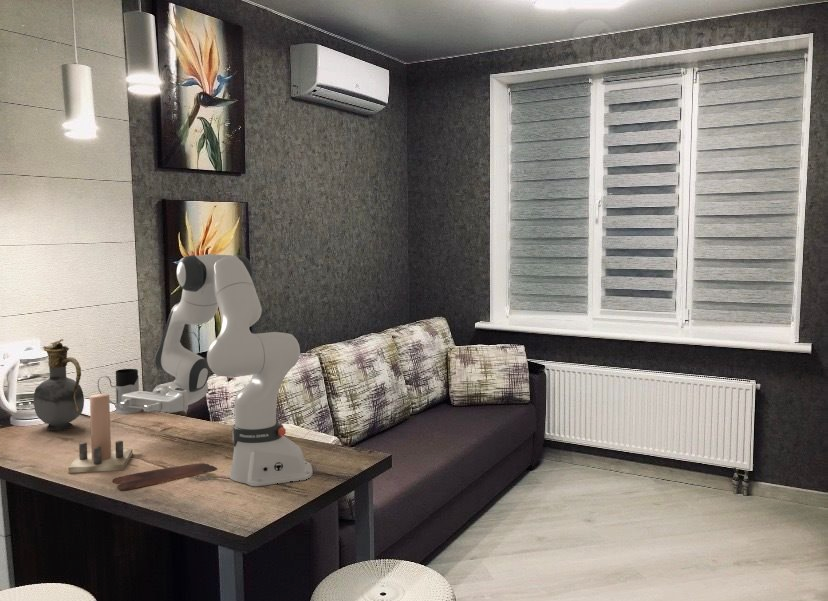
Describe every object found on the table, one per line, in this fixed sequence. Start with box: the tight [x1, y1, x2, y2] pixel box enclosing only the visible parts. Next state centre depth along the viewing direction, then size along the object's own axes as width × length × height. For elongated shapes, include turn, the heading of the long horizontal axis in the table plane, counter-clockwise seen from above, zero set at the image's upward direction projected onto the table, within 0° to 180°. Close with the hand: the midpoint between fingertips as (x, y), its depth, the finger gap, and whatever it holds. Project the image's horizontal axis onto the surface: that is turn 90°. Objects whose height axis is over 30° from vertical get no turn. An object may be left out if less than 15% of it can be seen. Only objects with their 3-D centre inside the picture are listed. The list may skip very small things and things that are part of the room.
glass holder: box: [96, 368, 142, 415], centre depth 250 cm, size 9×14×15 cm, turn 119°
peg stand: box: [68, 440, 133, 474], centre depth 196 cm, size 14×14×6 cm
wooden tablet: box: [111, 462, 218, 492], centre depth 187 cm, size 26×2×10 cm
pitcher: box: [33, 338, 85, 432], centre depth 228 cm, size 11×19×30 cm, turn 61°
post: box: [89, 393, 112, 460], centre depth 196 cm, size 5×5×18 cm
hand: (133, 407), depth 206 cm, fingers open, 8 cm apart
